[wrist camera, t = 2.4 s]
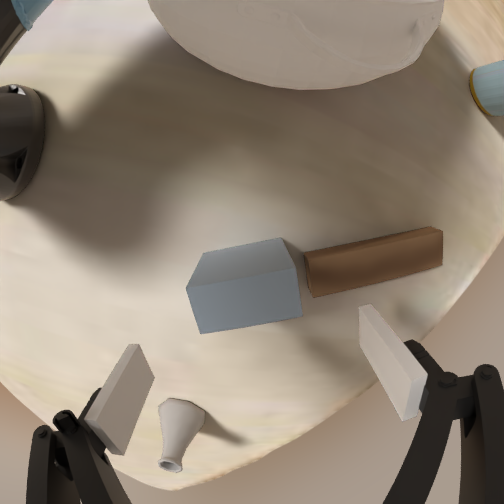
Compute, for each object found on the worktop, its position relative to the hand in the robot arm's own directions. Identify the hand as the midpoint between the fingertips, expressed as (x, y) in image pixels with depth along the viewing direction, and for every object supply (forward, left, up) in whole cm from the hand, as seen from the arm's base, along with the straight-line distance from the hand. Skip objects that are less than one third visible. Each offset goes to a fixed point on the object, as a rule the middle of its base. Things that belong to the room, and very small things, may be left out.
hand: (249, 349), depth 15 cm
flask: (+21, -14, -15) cm, 29 cm away
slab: (0, 0, -14) cm, 14 cm away
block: (+2, +14, -14) cm, 20 cm away
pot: (-28, +10, -15) cm, 33 cm away
